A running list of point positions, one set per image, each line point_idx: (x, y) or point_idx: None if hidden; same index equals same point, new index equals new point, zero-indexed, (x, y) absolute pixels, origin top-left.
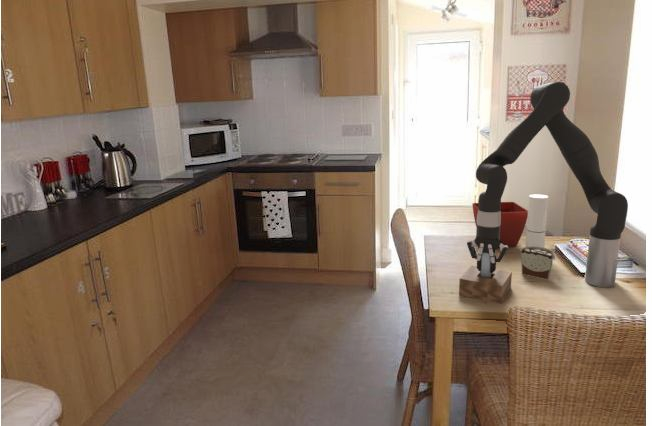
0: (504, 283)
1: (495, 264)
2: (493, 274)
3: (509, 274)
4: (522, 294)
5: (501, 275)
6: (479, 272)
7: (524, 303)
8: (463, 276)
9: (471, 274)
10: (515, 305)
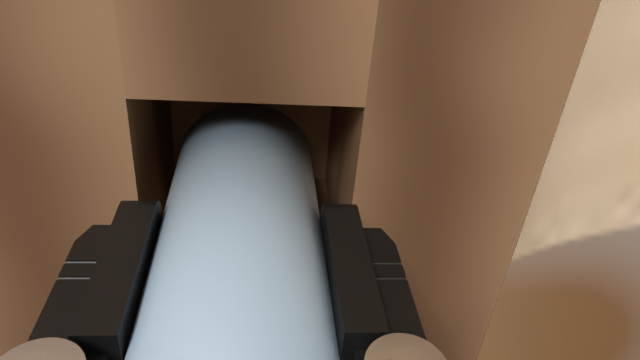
0: (489, 311)
1: (409, 330)
2: (336, 101)
3: (579, 40)
4: (617, 15)
5: (456, 125)
6: (125, 142)
7: (598, 194)
8: (6, 337)
9: (59, 253)
10: (524, 250)
